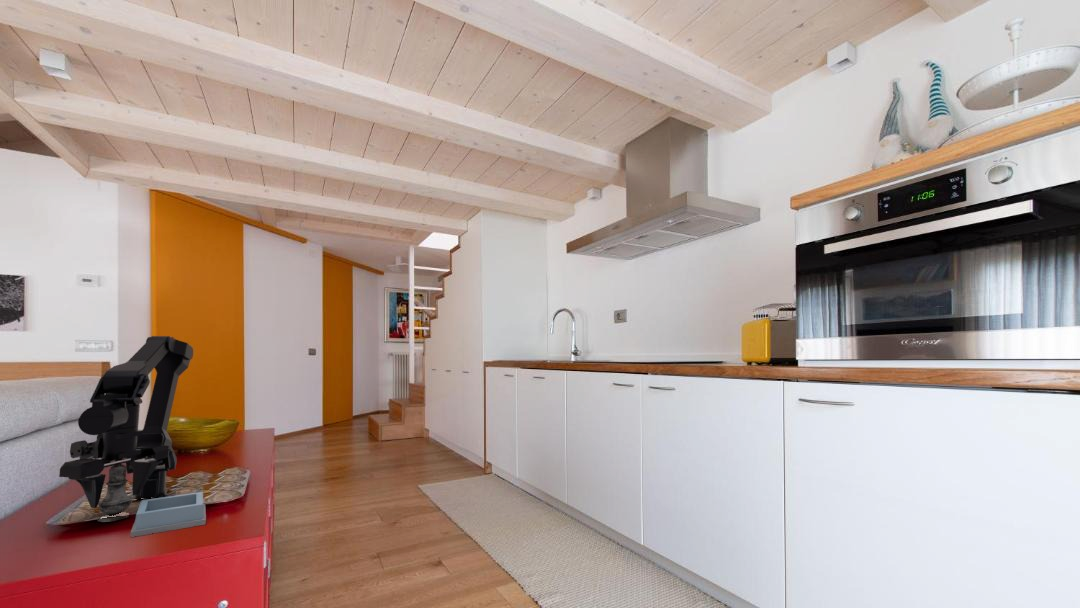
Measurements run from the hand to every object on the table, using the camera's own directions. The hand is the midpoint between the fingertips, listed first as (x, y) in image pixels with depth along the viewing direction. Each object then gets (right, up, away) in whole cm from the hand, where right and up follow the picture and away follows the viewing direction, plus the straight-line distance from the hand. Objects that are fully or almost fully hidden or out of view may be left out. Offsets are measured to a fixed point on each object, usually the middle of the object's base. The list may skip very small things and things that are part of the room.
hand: (115, 500), depth 103 cm
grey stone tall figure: (0, -4, 0) cm, 4 cm away
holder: (+13, -4, -2) cm, 14 cm away
